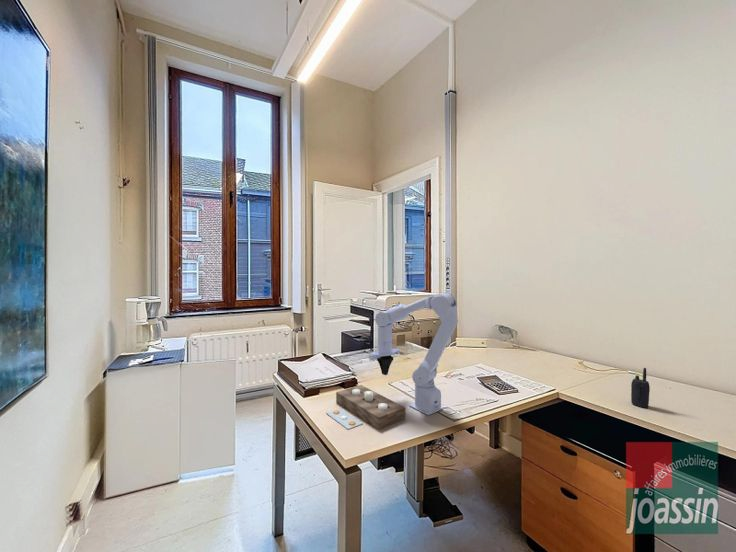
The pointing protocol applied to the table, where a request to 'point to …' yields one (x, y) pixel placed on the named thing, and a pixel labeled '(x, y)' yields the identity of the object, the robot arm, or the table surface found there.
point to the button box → (371, 407)
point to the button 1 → (355, 391)
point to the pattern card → (344, 418)
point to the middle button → (368, 396)
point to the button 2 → (382, 406)
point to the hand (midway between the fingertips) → (384, 374)
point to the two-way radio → (640, 391)
